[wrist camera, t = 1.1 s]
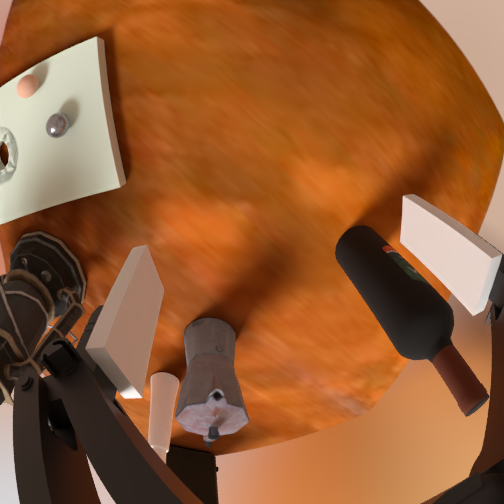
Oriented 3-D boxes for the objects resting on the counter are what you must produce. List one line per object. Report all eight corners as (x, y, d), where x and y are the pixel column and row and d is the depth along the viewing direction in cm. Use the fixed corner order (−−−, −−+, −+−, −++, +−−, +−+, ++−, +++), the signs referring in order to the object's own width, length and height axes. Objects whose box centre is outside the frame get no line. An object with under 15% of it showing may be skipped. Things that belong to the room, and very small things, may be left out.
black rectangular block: (183, 477, 85) (184, 528, 63) (137, 467, 79) (133, 520, 57) (223, 452, 72) (229, 521, 50) (162, 440, 65) (160, 515, 43)
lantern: (96, 237, 36) (-15, 417, 10) (103, 320, 43) (53, 481, 17) (0, 223, 33) (-113, 338, 6) (16, 299, 39) (-54, 420, 13)
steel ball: (52, 116, 25) (39, 118, 23) (72, 108, 26) (59, 108, 23) (56, 139, 27) (43, 143, 24) (76, 132, 27) (63, 134, 24)
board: (-25, 111, 23) (-34, 113, 21) (104, 40, 24) (96, 36, 22) (-1, 221, 32) (-9, 227, 30) (126, 182, 33) (120, 187, 31)
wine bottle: (334, 230, 40) (464, 402, 14) (379, 221, 40) (520, 362, 14) (335, 273, 44) (431, 442, 17) (377, 264, 44) (486, 409, 17)
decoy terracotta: (25, 80, 22) (11, 80, 19) (42, 70, 22) (29, 69, 19) (26, 101, 24) (13, 102, 21) (44, 92, 24) (30, 92, 21)
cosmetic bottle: (161, 391, 53) (153, 483, 34) (144, 375, 51) (130, 473, 31) (185, 385, 53) (182, 482, 33) (168, 368, 50) (160, 472, 31)
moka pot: (243, 303, 44) (259, 415, 27) (234, 366, 51) (244, 461, 34) (182, 300, 43) (169, 413, 25) (184, 364, 50) (179, 460, 32)
